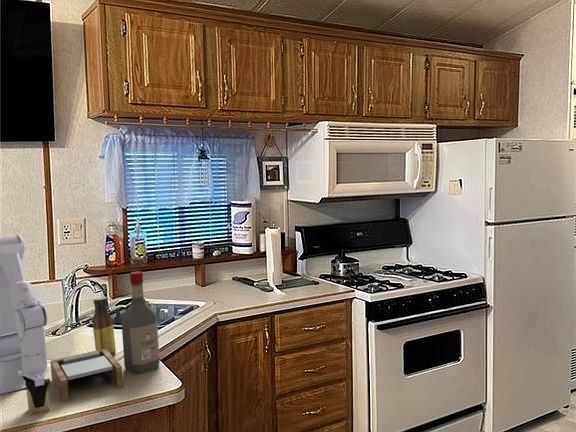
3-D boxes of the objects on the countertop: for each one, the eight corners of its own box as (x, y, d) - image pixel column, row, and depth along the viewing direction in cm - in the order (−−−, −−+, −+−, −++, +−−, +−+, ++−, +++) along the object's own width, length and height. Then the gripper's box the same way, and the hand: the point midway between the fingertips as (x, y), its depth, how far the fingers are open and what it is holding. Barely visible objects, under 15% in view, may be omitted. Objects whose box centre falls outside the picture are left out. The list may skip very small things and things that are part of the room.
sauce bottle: (118, 352, 177) (114, 295, 174) (112, 359, 170) (108, 299, 168) (98, 353, 176) (94, 295, 174) (92, 360, 170) (88, 300, 168)
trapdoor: (59, 367, 154) (58, 358, 154) (101, 358, 160) (100, 349, 160) (68, 383, 143) (67, 373, 142) (113, 372, 149) (112, 363, 149)
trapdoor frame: (51, 380, 155) (50, 360, 155) (107, 367, 164) (105, 348, 163) (62, 402, 140) (61, 380, 140) (123, 386, 149) (121, 366, 148)
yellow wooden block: (28, 409, 137) (26, 383, 136) (46, 404, 139) (44, 379, 138) (30, 415, 133) (28, 389, 132) (49, 411, 135) (47, 385, 135)
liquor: (163, 366, 163) (157, 272, 160) (136, 375, 156) (129, 277, 153) (148, 359, 169) (142, 268, 166) (121, 368, 163) (115, 273, 160)
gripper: (13, 348, 139) (18, 397, 140) (19, 364, 126) (24, 418, 128) (42, 342, 142) (46, 390, 144) (51, 358, 130) (55, 410, 132)
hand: (38, 403), depth 136 cm, fingers closed on yellow wooden block, 4 cm apart
